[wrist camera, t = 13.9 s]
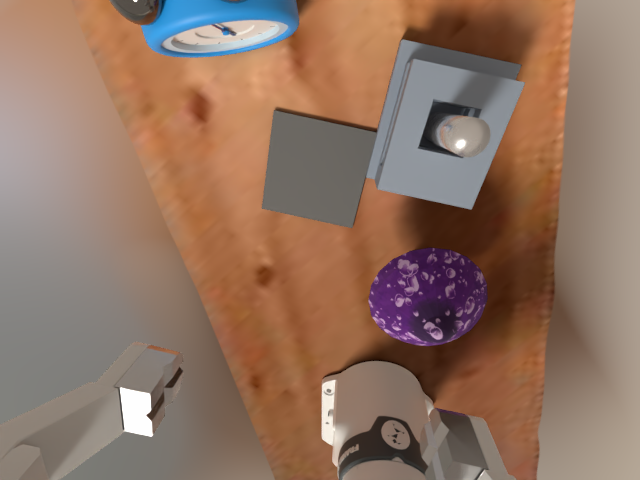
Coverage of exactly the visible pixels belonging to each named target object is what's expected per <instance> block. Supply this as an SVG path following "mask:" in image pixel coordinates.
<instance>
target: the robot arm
mask: <svg viewBox="0 0 640 480" xmlns="http://www.w3.org/2000/svg"><path fill="white" fill-rule="evenodd" d="M182 362H183V354H182V353H180V352H176V351H172V350H168V349H164V348H160V347H156V346H152V345H148V344H144V343H139V342H134V343H132V344H131V345H129V347H128V348H127V349H126V350H125V351H124V352H123V353H122V354H121V355H120V357H119V358H118V359H117V360H116V361H115V362H114V363H113V364H112V365H111V366H110V367H109V368H108V369H107V371H106V372H105V373H104V374H103V375H102V376H101V377H100V378H99V379H98V380H97V381H96V383H92V382H89V383H87V384H85V385H83V386H81V387H79V388H77V389H74V390H72V391H70V392H68V393H66V394H64V395H62V396H60V397H58V398H56V399H53V400H52V401H49V402H47V403H45V404H43V405H41V406H39V407H37V408H34V409H32V410H30V411H28V412H26V413H24V414H22V415H20V416H18V417H15V418H13V419H11V420H9V421H7V422H5V423H3V424H1V425H0V480H59V479H61V478H62V477H64V476H65V475H66V474H68V473H69V472H70V471H72V470H73V469H75V468H76V467H77V466H79V465H80V464H81V463H83V462H84V461H86V460H87V459H88V458H90V457H91V456H92V455H94V454H95V453H96V452H98V451H99V450H101V449H102V448H103V447H105V446H106V445H107V444H109V443H110V442H112V441H113V440H114V439H116V438H117V437H118V436H120V435H121V434H122V433H123V431H126V432H132V433H137V434H142V435H148V436H153V434H154V433H155V431H156V429H157V428H158V426H159V424H160V423H161V421H162V419H163V418H164V416H165V407H166V406H167V405H169V404H171V403H172V402H173V401H174V399H175V397H176V396H177V394H178V392H179V389H180V386H181V384H182V379H183V370H182V369H181V368H180V365H181V364H182ZM429 418H430V421H429ZM322 439H323V440H324V441H326V442H327V443H328V444H330V445H332V446H333V454H332V461H333V463H334V464H335V466H337V467H338V478H339V480H517V479H516V478H515V477H514V476H512V475H508V473H507V471H506V468H505V466H504V464H503V461H502V459H501V457H500V454H499V452H498V450H497V447H496V445H495V442H494V440H493V438H492V435H491V433H490V431H489V428H488V426H487V424H486V422H485V420H484V419H483V418H479V417H475V416H470V415H465V414H462V413H457V412H452V411H447V410H442V409H438V408H434V406H433V401H432V400H431V399H430V398H429V397H428V396H427V395H426V394H425V393H424V392H423V391H422V388H421V386H420V383H419V381H418V380H417V378H416V377H415V376H414V375H413V374H412V373H411V372H410V371H408V370H407V369H405V368H403V367H401V366H399V365H396V364H393V363H389V362H383V361H369V362H363V363H359V364H356V365H354V366H351V367H350V368H348V369H346V370H345V371H343V372H341V373H339V374H336V375H331V376H328V377H325V378H324V379H323V380H322Z"/></svg>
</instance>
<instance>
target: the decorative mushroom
mask: <svg viewBox="0 0 640 480" xmlns="http://www.w3.org/2000/svg"><path fill="white" fill-rule="evenodd" d="M486 302H487V283H486V281H485V279H484V277H483V274H482V272H481V270H480V268H479V267H477V266H476V265H475V264H474V263H473V262H472V261H471V260H470V259H469V258H468V257H466V256H463V255H461V254H459V253H456V252H454V251H452V250H447V249H438V248H426V249H420V250H414V251H410V252H407V253H405V254H403V255H401V256H399V257H397V258H395V259H393V260H392V261H390V262H389V263H388V264H387V265H386V266H385V267H384V268H383V269H381V270H380V271H379V273H378V275H377V276H376V278H375V280H374V282H373V283H372V285H371V290H370V296H369V305H370V311H371V315H372V317H373V318H374V320H375V322H376V323H377V325H378V326H379V328H381V329H382V330H383V331H385V332H386V333H387V334H388V335H390V336H391V337H393V338H396V339H398V340H401V341H403V342H406V343H411V344H413V345H422V346H432V345H441V344H444V343H447V342H450V341H452V340H455V339H457V338H459V337H461V336H462V335H464V334H465V333H467V332H468V331H470V330H471V329H472V328H473V327H474V325H475V324H476V323H477V322H478V320H479V319H480V318H481V315H482V313H483V310H484V307H485V305H486Z"/></svg>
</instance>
